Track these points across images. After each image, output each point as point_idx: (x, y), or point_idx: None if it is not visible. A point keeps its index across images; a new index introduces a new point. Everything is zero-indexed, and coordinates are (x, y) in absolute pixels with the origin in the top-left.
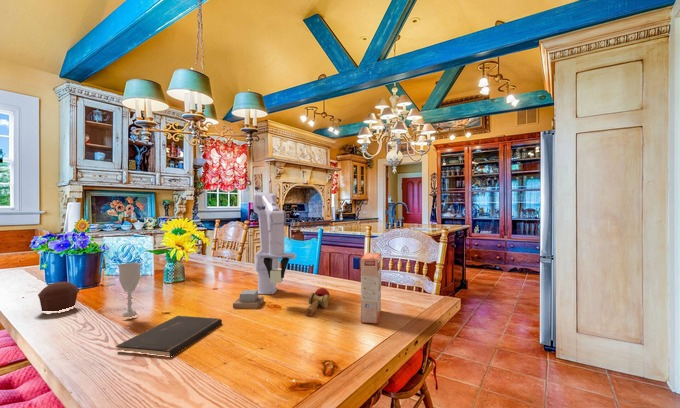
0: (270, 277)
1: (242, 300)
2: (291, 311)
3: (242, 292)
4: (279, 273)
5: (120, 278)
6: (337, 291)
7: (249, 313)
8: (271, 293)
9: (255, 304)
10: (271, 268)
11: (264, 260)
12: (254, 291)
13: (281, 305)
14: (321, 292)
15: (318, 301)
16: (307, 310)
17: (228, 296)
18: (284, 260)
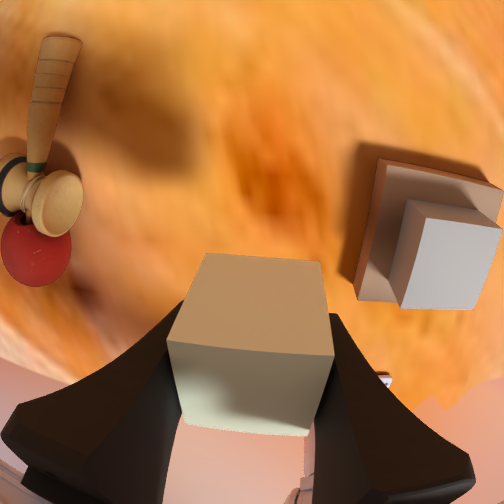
0: (322, 294)
1: (470, 211)
2: (161, 98)
3: (488, 258)
4: (195, 317)
5: None
6: (64, 363)
7: (404, 79)
8: None
9: (394, 165)
10: (320, 429)
11: (449, 499)
12: (424, 278)
13: (239, 206)
14: (11, 230)
15: (27, 162)
16: (62, 40)
17: (486, 346)
18: (19, 442)
